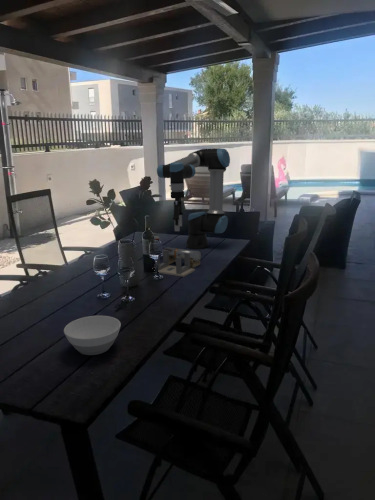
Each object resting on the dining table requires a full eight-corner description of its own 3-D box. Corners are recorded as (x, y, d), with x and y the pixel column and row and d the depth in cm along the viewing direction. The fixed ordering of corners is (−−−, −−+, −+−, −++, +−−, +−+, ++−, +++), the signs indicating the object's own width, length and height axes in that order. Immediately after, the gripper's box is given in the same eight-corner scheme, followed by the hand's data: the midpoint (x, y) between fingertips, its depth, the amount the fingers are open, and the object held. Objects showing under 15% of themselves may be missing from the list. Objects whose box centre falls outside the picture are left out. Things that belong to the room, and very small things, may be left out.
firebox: (149, 271, 239) (149, 254, 237) (161, 265, 249) (161, 249, 247) (183, 276, 228) (183, 258, 226) (195, 270, 238) (194, 253, 236)
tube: (163, 258, 254) (163, 248, 252) (169, 256, 259) (168, 246, 257) (196, 263, 243) (195, 252, 241) (201, 260, 248) (201, 249, 246)
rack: (164, 264, 252) (164, 256, 251) (172, 260, 260) (172, 253, 259) (192, 268, 243) (192, 260, 242) (200, 264, 251) (200, 256, 250)
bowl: (133, 346, 153) (132, 324, 151) (87, 368, 139) (85, 344, 137) (99, 331, 165) (98, 311, 163) (54, 350, 151) (52, 328, 149)
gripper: (173, 188, 250) (174, 224, 256) (167, 193, 226) (169, 233, 232) (186, 188, 250) (187, 224, 255) (181, 193, 226) (182, 233, 231)
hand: (178, 228), depth 243 cm, fingers open, 13 cm apart
